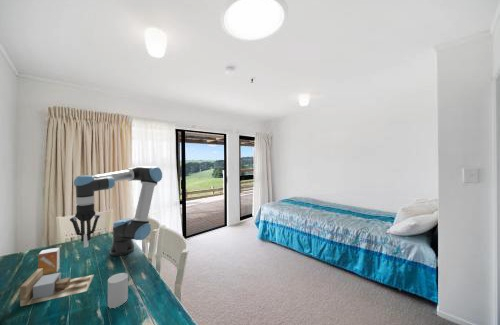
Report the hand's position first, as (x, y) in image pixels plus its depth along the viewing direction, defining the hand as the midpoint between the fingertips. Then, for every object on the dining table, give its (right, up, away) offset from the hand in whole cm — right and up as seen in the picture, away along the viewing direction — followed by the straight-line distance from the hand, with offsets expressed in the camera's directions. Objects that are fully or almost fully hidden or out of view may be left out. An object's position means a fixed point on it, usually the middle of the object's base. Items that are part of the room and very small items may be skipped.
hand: (86, 246), depth 109 cm
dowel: (-10, -19, -7) cm, 23 cm away
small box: (-31, -20, +11) cm, 38 cm away
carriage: (-13, -19, -8) cm, 24 cm away
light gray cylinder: (+26, -22, -13) cm, 36 cm away
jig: (-8, -21, -6) cm, 23 cm away
